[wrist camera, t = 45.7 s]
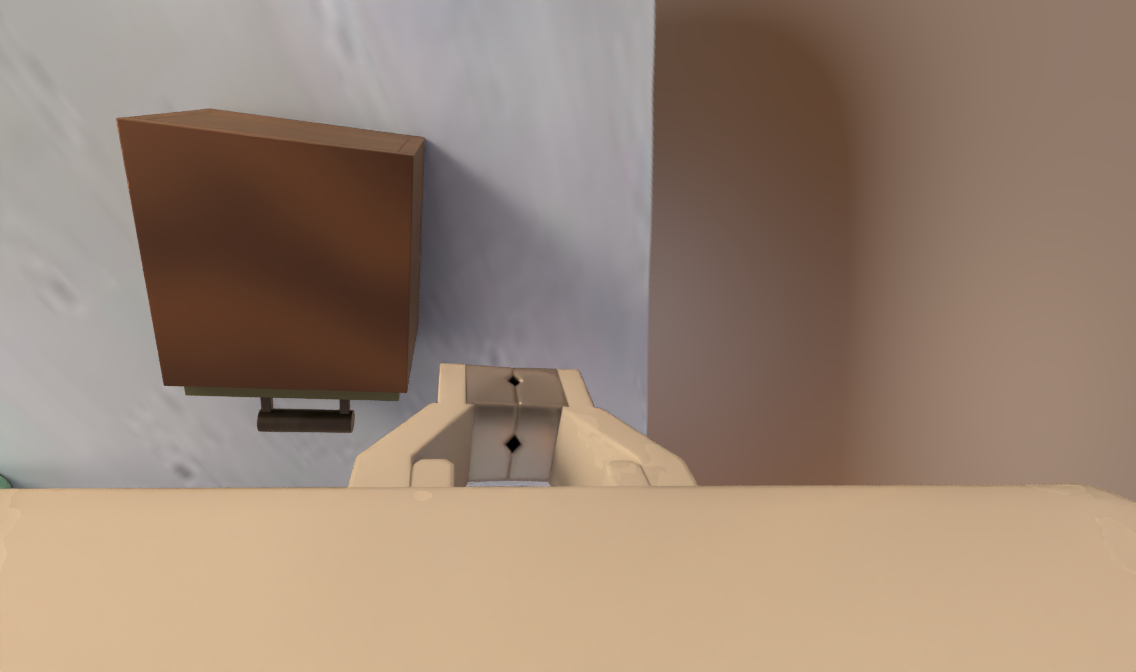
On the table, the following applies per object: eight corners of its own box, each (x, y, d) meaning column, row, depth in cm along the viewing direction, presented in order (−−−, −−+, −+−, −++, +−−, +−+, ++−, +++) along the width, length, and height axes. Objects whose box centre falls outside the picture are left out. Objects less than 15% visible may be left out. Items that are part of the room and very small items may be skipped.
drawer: (407, 386, 45) (397, 450, 38) (242, 381, 43) (193, 448, 35) (414, 172, 38) (402, 195, 31) (217, 149, 36) (148, 168, 28)
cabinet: (418, 326, 44) (407, 393, 35) (232, 315, 41) (163, 386, 32) (424, 137, 38) (413, 155, 29) (208, 108, 35) (115, 117, 26)
